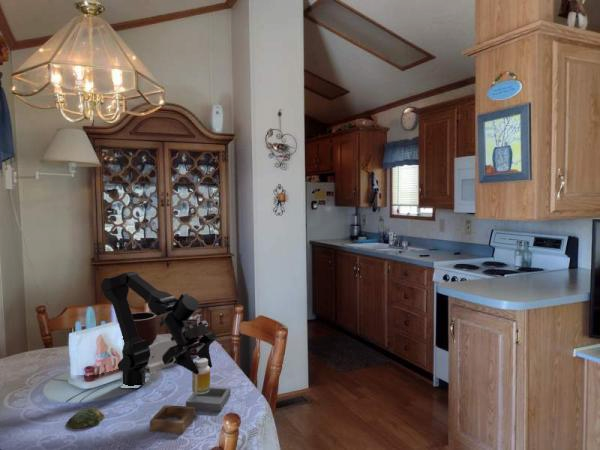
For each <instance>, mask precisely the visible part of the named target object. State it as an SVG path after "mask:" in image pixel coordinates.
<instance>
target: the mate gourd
mask: <svg viewBox="0 0 600 450" xmlns="http://www.w3.org/2000/svg"><path fill="white" fill-rule="evenodd" d="M131 313H132V316H133V319H134V322H135V325H136V329H137V332H138V335H139V337H140V338H141V339H142V340H147V342H148V346H150V345H152V344H154V342H155V341H156V340H157V337H158V331H159V330H158V327H159V326H158V325H159V323H158V318H157V317H158V316H157V315H155V314H154V313H153V312H152V311H150V312H149V311H142V312H141V311H140V312H139V311H138V312H131Z"/></svg>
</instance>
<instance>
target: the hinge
mask: <svg viewBox="0 0 600 450" xmlns="http://www.w3.org/2000/svg"><path fill="white" fill-rule="evenodd" d="M175 345H177V343H176V342H175V340H174V341H171V339H166V340H161V341H158V342H155V343H154V342H153V343H152V345H150V346H149V348H150V358H149V361H148V365H145V366H144V368H145V369H144V370H147V369H148V371H149V373H153V372H155V371H159V370H162V369H165V368H168V367H170V366H171V367H172V366H174V365H175V364H174V361H175V357H173V358H174V359H173V362H172V363H169V364H167V365H165V364H164V362H163V360H162V356H163V355H164V354H165V352H166V351H167V350H168V349H169V348H170V347H173V346H175Z"/></svg>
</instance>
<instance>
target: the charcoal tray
mask: <svg viewBox="0 0 600 450" xmlns="http://www.w3.org/2000/svg"><path fill="white" fill-rule="evenodd" d="M230 397H231V387H219V386H218V387H214V386H210V391H209V392H207V393H205V394H195V393H193V392H192V394H191V395H190V396H189V397H188V399H187V400H185V406H189V407H195V411H202V412H219V413H221V412H222V411H223V409H224V407H225V406H226V404H227V402H228V400H229V399H230Z"/></svg>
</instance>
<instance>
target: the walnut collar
mask: <svg viewBox="0 0 600 450" xmlns="http://www.w3.org/2000/svg"><path fill="white" fill-rule="evenodd" d="M195 413H196V410H195V407H189V406H186V405H171V404H170V405H169V404H164V405H163V406H162V407H161V408H160V409H159V410H158V411H157V412H156V413H155V414H154V416H153V417H152V418H151V419H150V420H149V432H152V433H164V434H165V433H166V434H167V433H169V434H179V435H180V434H181V435H182V434H184V433H185V431H186V430H187V429H188V427H189V426H190V424H191V422H193V420H194V418H195V417H196V415H195ZM174 417H177V418H178V419H179V418H180V420H176V419H175V420H174V419H166V418H174ZM164 419H165V420H164Z"/></svg>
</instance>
